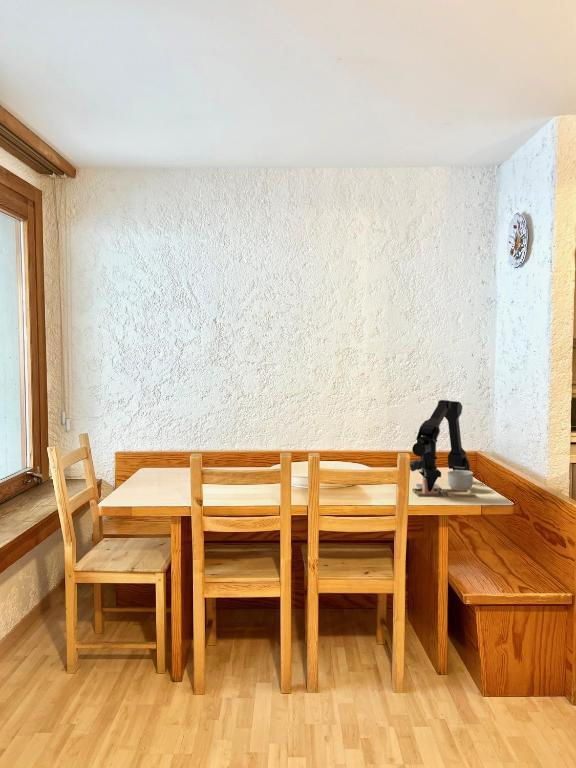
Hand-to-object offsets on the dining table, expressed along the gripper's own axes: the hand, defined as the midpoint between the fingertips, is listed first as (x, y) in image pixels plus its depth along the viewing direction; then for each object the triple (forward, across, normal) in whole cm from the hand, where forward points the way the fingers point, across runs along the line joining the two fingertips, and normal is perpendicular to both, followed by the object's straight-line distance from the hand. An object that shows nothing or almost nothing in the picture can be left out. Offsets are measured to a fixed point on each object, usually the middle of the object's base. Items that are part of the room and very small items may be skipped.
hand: (428, 490), depth 279 cm
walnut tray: (+2, 0, 0) cm, 2 cm away
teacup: (+2, -12, +17) cm, 21 cm away
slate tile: (+2, -11, +3) cm, 12 cm away
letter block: (+2, 0, 0) cm, 2 cm away
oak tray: (+2, +1, +13) cm, 13 cm away
